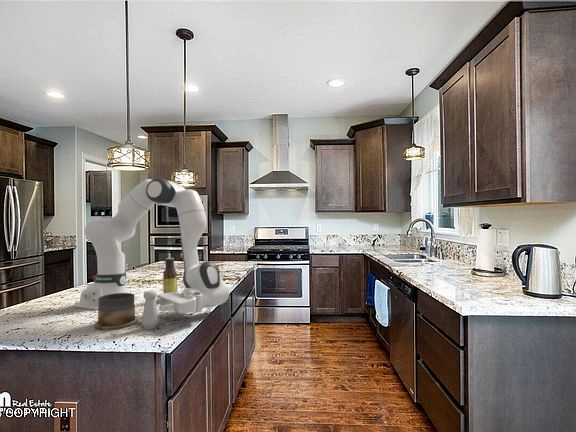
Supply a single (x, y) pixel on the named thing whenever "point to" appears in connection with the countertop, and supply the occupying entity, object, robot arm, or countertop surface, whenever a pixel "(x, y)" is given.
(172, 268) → the sauce bottle
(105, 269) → the robot arm
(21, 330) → the countertop surface
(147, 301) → the salt shaker
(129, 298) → the brown pot
